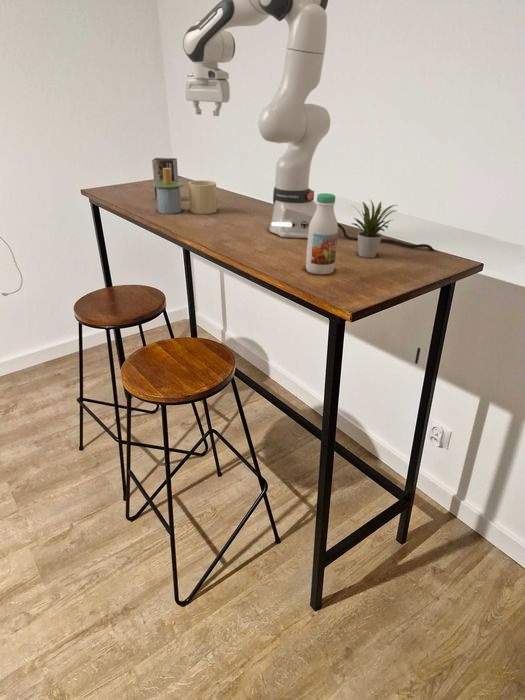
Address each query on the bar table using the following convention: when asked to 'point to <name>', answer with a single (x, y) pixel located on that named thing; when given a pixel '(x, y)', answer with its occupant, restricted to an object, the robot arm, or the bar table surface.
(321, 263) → the milk bottle
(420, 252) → the bar table surface
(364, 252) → the house plant
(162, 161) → the coffee box
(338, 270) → the bar table surface
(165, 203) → the cup
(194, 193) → the wooden container
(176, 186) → the lid
